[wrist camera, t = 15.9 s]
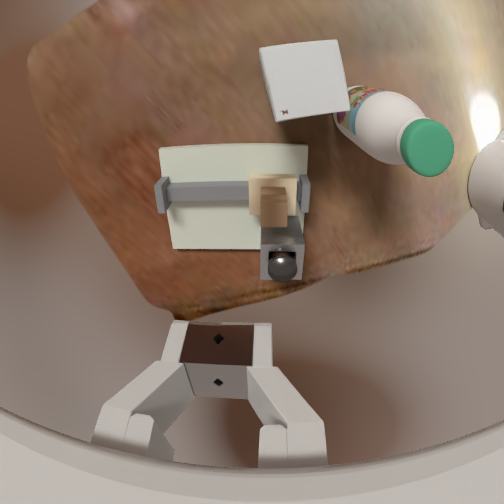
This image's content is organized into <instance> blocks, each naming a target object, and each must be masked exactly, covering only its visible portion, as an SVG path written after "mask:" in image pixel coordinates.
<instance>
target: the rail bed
mask: <svg viewBox="0 0 504 504" xmlns="http://www.w3.org/2000/svg"><path fill="white" fill-rule="evenodd" d="M159 157H160V165H161V173H162V177H161V178H160V180H159V181H158V182H157V183H156V184H155V185H154V190H155V196H156V202H157V208H158V213H166V211H167V214H168V221H169V227H170V233H171V239H172V244H173V249H260V244H261V227H260V215H249V175H250V174H295V176H296V177H297V195H296V214H295V215H287V216H299V219H300V224H301V229H302V233H303V226H304V213H309V200H310V186H311V184H310V181H309V179H308V176H307V163H308V145H307V144H283V143H238V144H207V145H189V146H174V147H162V148H160V149H159Z"/></svg>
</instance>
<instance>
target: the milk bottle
mask: <svg viewBox="0 0 504 504" xmlns="http://www.w3.org/2000/svg"><path fill="white" fill-rule="evenodd" d="M347 90H348V95H349V102H350V111H342V112H334V113H333V118H334V121H335V123H336V125H337V127H338V129H339V130H340V131H341V132H342V133H343V134H344V135H345V136H346V137H348V138H349V139H350V140H351V141H352V142H354V143H355V144H356V145H357V146H359V147H360V148H361V149H362V150H364V151H365V152H366V153H367V154H369V155H370V156H372V157H373V158H375V159H377V160H379V161H381V162H384V163H387V164H392V165H403V164H406V165H407V166H408V167H410V168H411V169H412V170H413V171H414V172H416V173H418V174H419V175H422V176H426V177H433V176H437V175H439V174H441V173H442V172H444V171H445V170H446V169H447V167H448V166H449V164H450V163H451V160H452V158H453V153H454V144H453V139H452V137H451V134H450V133H449V131H448V130H447V129H446V128H445V127H444V126H443V125H442V124H440V123H438V122H436V121H434V120H431V119H429V118H426V117H425V116H424V114H423V112H422V111H421V109H420V108H419V107H418V106H417V105H416V104H415V103H414V102H413V101H411V100H410V99H409V98H407V97H405V96H403V95H401V94H398V93H395V92H392V91H388V90H384V89H379V88H373V87H367V86H352V87H349V88H347Z"/></svg>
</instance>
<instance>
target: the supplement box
mask: <svg viewBox="0 0 504 504" xmlns="http://www.w3.org/2000/svg"><path fill="white" fill-rule="evenodd" d="M259 57H260V63H261V68H262V73H263V78H264V82H265V86H266V90H267V94H268V98H269V102H270V105H271V109H272V112H273V115H274V118H275V121H276V122H282V121H287V120H292V119H297V118H303V117H309V116H315V115H321V114H328V113H334V112H342V111H350V102H349V95H348V90H347V84H346V78H345V73H344V68H343V63H342V58H341V54H340V49H339V45H338V41H337V40H322V41H311V42H300V43H291V44H283V45H276V46H269V47H263V48H260V49H259Z"/></svg>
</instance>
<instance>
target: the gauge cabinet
mask: <svg viewBox="0 0 504 504" xmlns="http://www.w3.org/2000/svg"><path fill="white" fill-rule="evenodd" d="M304 250H305V243H304V238H303V233H302V229H301V224H300V219H299V216H287V227H261V244H260V280H273V279H272V278H271V277H270V276H269V274H268V262H269V260H270V259H271V258H272V251H283V252H290V254H291V256H292V257H293V258H294V259H295V260H296V263H297V274H296V275H295V277H294V278H293V279H291V280H302V271H303V260H304Z"/></svg>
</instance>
